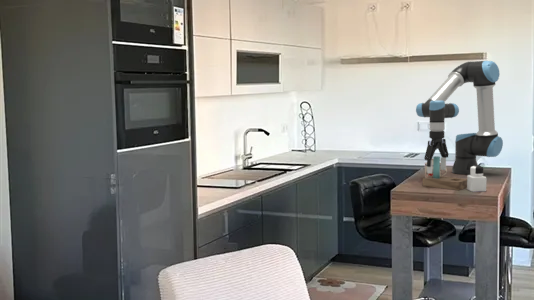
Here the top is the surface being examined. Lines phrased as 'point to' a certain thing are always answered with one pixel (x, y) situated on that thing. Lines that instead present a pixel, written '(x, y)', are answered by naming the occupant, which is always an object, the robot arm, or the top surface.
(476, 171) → the medicine bottle
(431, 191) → the top surface
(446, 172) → the teacup with lid
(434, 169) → the teal peg
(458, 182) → the walnut hole block
